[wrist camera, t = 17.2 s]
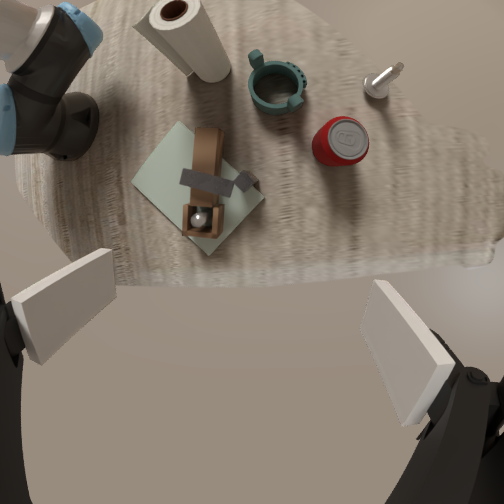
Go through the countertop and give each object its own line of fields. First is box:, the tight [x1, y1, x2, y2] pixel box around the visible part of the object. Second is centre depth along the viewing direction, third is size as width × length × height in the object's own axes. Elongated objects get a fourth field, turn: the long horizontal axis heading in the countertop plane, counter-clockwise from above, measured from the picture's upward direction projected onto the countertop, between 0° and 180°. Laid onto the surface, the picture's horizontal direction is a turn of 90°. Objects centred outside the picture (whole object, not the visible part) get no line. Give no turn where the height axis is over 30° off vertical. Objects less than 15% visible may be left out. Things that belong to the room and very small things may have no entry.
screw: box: [363, 62, 404, 99], centre depth 32 cm, size 13×5×5 cm
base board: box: [131, 121, 264, 256], centre depth 45 cm, size 20×14×1 cm
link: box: [182, 127, 225, 239], centre depth 42 cm, size 17×6×5 cm, turn 175°
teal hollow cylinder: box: [248, 49, 307, 115], centre depth 36 cm, size 9×9×9 cm
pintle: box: [191, 208, 213, 227], centre depth 43 cm, size 2×2×7 cm
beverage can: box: [312, 116, 369, 166], centre depth 36 cm, size 7×7×12 cm
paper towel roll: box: [132, 0, 231, 83], centre depth 29 cm, size 7×6×21 cm
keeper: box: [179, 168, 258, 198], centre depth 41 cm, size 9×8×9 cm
